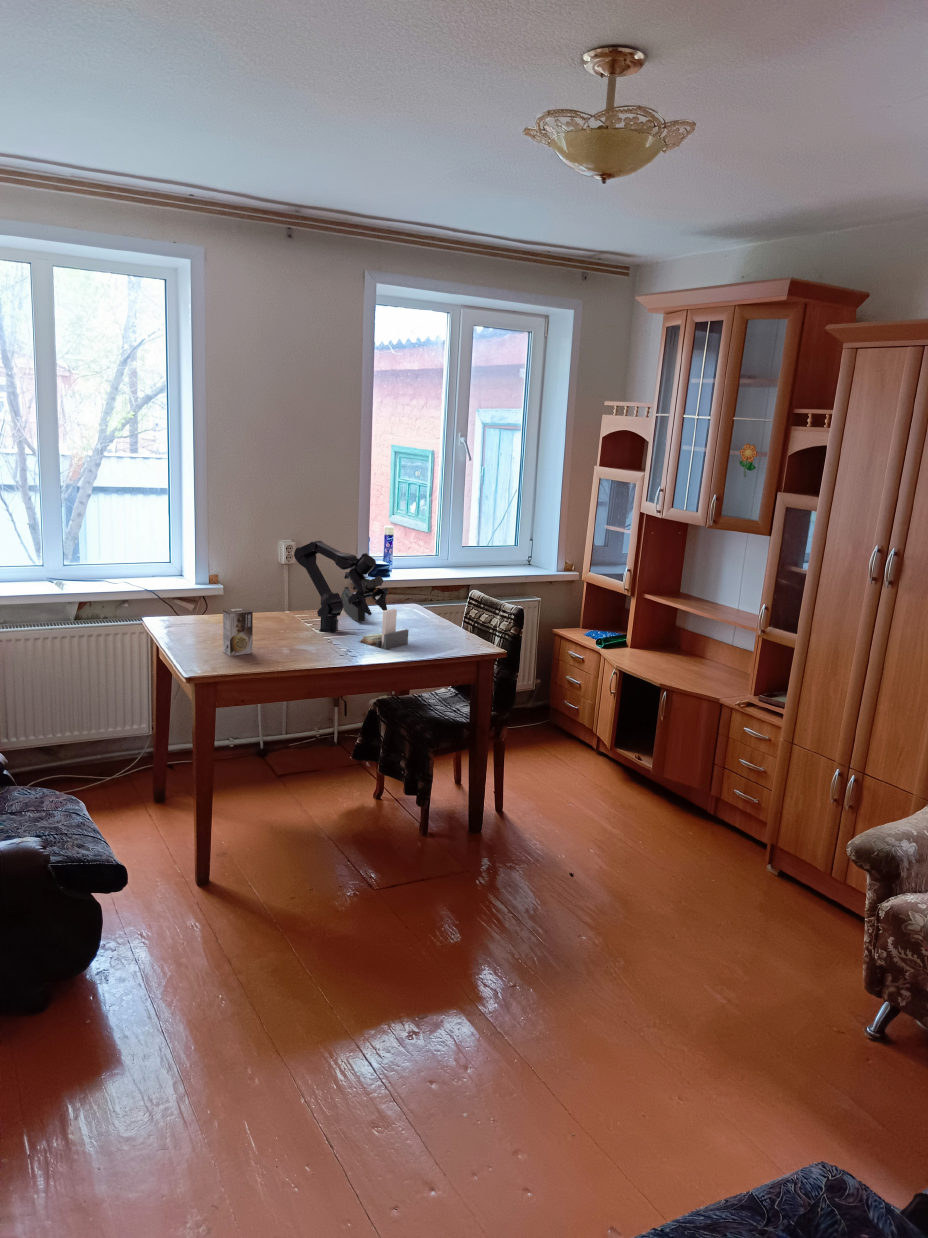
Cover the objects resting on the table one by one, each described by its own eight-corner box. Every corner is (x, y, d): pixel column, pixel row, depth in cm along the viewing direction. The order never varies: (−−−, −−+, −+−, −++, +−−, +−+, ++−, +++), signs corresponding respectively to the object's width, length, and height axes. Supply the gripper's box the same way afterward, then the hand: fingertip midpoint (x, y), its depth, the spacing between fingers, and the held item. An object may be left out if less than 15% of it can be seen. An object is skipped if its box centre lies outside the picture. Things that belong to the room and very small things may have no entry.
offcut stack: (359, 641, 347) (360, 636, 347) (378, 637, 356) (378, 632, 356) (370, 644, 344) (371, 639, 343) (389, 640, 353) (389, 635, 352)
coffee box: (245, 649, 328) (246, 607, 325) (252, 653, 323) (253, 611, 320) (222, 652, 323) (222, 609, 319) (229, 656, 318) (230, 613, 314)
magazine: (367, 605, 376) (350, 572, 400) (360, 605, 375) (343, 572, 399) (362, 639, 384) (346, 605, 408) (355, 639, 383) (339, 605, 407)
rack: (357, 644, 347) (358, 627, 345) (379, 639, 357) (380, 622, 356) (385, 652, 338) (386, 634, 337) (407, 646, 349) (408, 629, 347)
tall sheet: (381, 645, 344) (383, 610, 341) (391, 643, 349) (393, 608, 346) (384, 646, 343) (386, 611, 340) (394, 643, 348) (396, 609, 345)
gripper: (354, 571, 339) (374, 604, 335) (386, 567, 353) (405, 598, 349) (338, 588, 345) (358, 620, 341) (371, 583, 360) (390, 614, 356)
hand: (378, 613), depth 347 cm, fingers open, 9 cm apart
